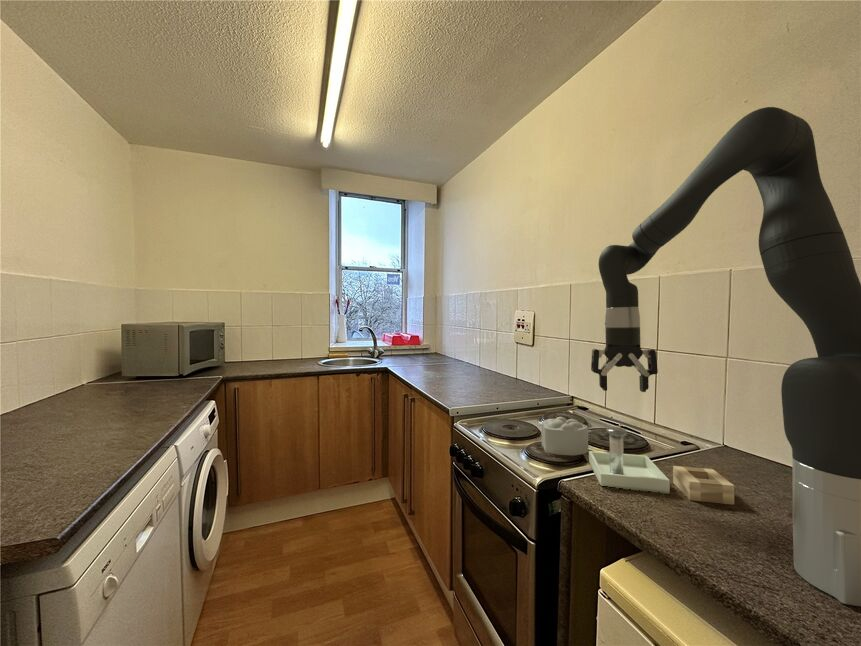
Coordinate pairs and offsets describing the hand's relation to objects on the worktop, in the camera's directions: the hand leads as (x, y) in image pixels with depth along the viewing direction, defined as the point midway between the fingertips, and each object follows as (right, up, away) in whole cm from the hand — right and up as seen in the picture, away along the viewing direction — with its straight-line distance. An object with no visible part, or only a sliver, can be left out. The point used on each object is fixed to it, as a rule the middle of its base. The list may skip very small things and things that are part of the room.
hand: (623, 390), depth 83 cm
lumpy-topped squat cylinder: (-7, -22, +19) cm, 29 cm away
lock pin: (-1, -21, +1) cm, 21 cm away
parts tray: (0, -21, 0) cm, 21 cm away
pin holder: (+13, -21, -8) cm, 26 cm away
